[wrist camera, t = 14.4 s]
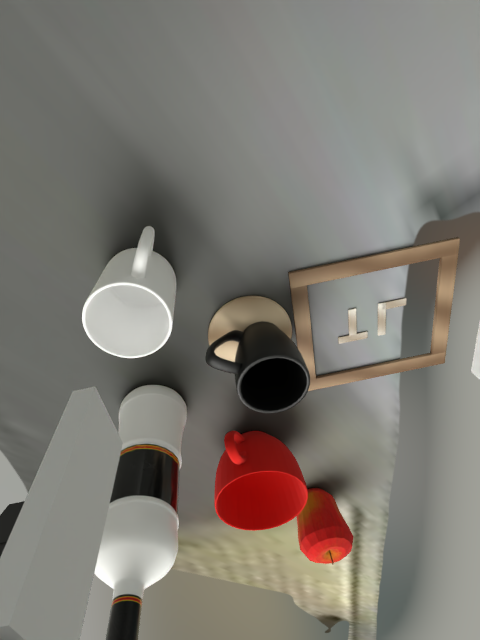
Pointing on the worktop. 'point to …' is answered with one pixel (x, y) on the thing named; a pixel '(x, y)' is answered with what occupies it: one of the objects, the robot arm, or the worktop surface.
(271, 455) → the ceramic cup
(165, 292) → the cup
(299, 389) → the mug
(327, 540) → the apple
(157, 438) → the vodka
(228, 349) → the coaster
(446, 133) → the worktop surface
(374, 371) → the brown wooden frame
